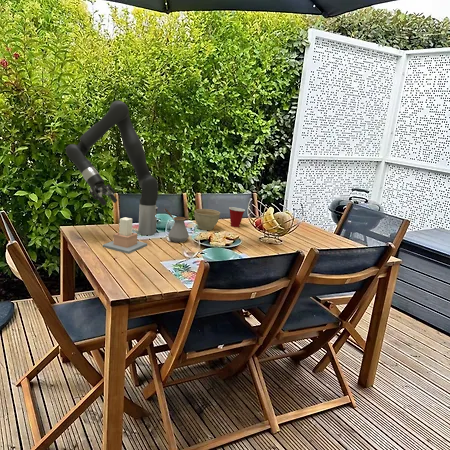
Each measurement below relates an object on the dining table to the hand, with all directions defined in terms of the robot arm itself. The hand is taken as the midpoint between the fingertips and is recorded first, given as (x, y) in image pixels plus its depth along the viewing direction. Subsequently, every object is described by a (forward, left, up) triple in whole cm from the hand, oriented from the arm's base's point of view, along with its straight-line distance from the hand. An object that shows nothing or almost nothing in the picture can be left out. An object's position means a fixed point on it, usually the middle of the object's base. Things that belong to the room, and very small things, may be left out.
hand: (110, 203), depth 208 cm
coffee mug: (-41, -24, -21) cm, 52 cm away
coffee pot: (-35, +8, -21) cm, 42 cm away
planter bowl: (-65, +1, -21) cm, 69 cm away
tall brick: (-4, +9, -16) cm, 19 cm away
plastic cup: (-87, +5, -21) cm, 90 cm away
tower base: (-4, +9, -21) cm, 23 cm away
